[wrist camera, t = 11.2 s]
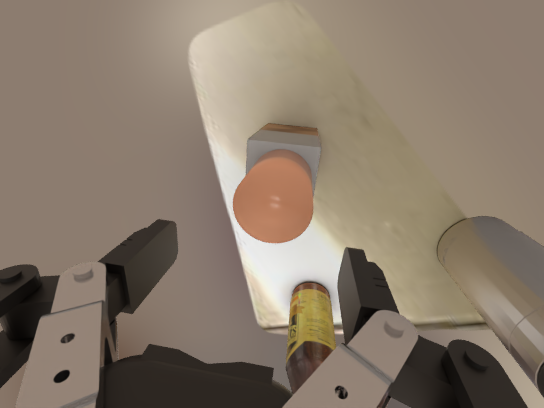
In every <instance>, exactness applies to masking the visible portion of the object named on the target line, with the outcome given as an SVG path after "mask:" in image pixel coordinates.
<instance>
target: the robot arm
mask: <svg viewBox="0 0 544 408" xmlns="http://www.w3.org/2000/svg"><path fill="white" fill-rule="evenodd" d="M177 254H178V243H177V228H176V223H175V222H173V221H167V220H160V219H158V220H156V221H155V222H154V223H153V224H151V225H150V226H149V227H148V228H144V229H141V230H139V231H137V232H134V233H133V234H132V235H131V236H129V237H128V238H127V240H125V241H123V242H122V243H121V244H120V245H118V246H117V247H116V248H114V249H113V250H112V251H111V252H109V253H108V254H107V255H105V256H104V257H103V258H102V259H101V260H99V261H98V262H85V263H81V264H77V265H75V266H72V267H71V268H69V269H67V270H66V271H64V272H63V273H62V274H61V275H60V276H44V277H40V275H39V272H38V269H37V267H36V266H33V265H17V266H12V267H9V268H6V269H3V270H0V323H1V326H2V328H3V331H1V332H0V388H1V387H2V386H3V385H4V384H5V383H6V382H7V381H8V380H9V379H10V378H11V377H12V376H13V375H14V374H15V373H16V372H17V371H18V370H19V369H20V368H21V367H22V366H23V365H24V363H26V362H27V361H28V363H27V367H26V370H25V373H24V377H23V381H22V385H21V388H20V391H19V395H18V399H17V402H16V406H15V408H386V407H387V405H388V403H389V401H390V400H391V398H394V399H396V400H398V401H400V402H402V403H404V404H405V405H407V406H409V407H411V408H528V407H527V405H526V404H525V402H524V401H523V399H522V398H521V396H520V394H519V393H518V391H517V390H516V388H515V387H514V385H513V383H512V382H511V380H510V379H509V377H508V375H507V374H506V373H505V371H504V369H503V368H502V366H501V365H500V363H499V362H498V361H497V360H496V359H495V358H494V357H493V356H492V355H491V354H490V353H489V352H487V351H486V350H484V349H483V348H481V347H480V346H478V345H476V344H474V343H471V342H469V341H465V340H453V341H451V342H450V343H449V345H448V347H447V348H446V347H444V346H442V345H439V344H437V343H434V342H432V341H429V340H427V339H424V338H423V337H421V336H419V335H418V333H417V330H416V328H415V327H414V325H413V324H412V323H411V322H410V321H409V320H408V319H406V318H405V317H404V316H402V315H400V314H399V311H398V309H397V306H396V304H395V301H394V299H393V296H392V294H391V291H390V289H389V286H388V284H387V281H386V279H385V276H384V274H383V271H382V270H381V269H380V268H379V267H378V266H377V265H376V264H375V263H373V262H367V259H366V256H365V253H364V250H362V249H355V248H348V247H346V248H345V250H344V254H343V259H342V263H341V267H340V271H339V276H338V295H339V302H340V310H341V317H342V325H343V332H344V339H345V344H344V343H341V344H339V345H338V346H337V347H336V348H335V349H334V351H333V352H332V353H331V354H330V355H329V356H328V357H327V358H326V359H325V361H324V362H323V363H322V364H321V365H320V366H319V367H318V368H317V369H316V371H315V372H314V373H313V374H312V375H311V376H310V377H309V378H308V379H307V380H306V382H305V383H304V384H303V385H302V386H301V387H300V388H299V389H298V390H297V392H296V393H295V394H293V393H292V392H290V391H289V390H288V389H287V388H286V387H285V386H283V385H282V384H280V383H279V382H277V381H275V380H273V379H272V377H273V370H274V368H271V367H265V366H260V365H255V364H250V363H245V362H235V363H216V364H207V363H204V362H202V361H200V360H198V359H196V358H194V357H192V356H190V355H188V354H186V353H184V352H182V351H180V350H178V349H173V348H168V347H162V346H157V345H152V344H149V345H148V347H147V348H146V350H145V351H144V353H143V354H142V355H136V356H130V357H127V358H123V359H120V360H118V332H117V319H116V316H117V315H118V314H119V313H120V312H124V313H129V314H133V313H134V311H135V310H136V309H137V308H138V306H139V305H140V304H141V303H142V301H143V300H144V299H145V298H146V296H147V295H148V294H149V293H150V292H151V290H152V289H153V288H154V287H155V285H156V284H157V283H158V282H159V280H160V279H161V278H162V276H163V275H164V274H165V273H166V272H167V270H168V269H169V268H170V267H171V266H172V264H173V263H174V261H175V260H176V257H177ZM437 254H438V258H439V261H440V262H441V264H442V265H443V267H444V268H445V269H446V270H447V272H448V273H449V274H450V276H451V277H452V278H453V280H454V281H455V282H456V284H457V285H458V286H459V288H460V289H461V290H462V292H463V293H464V294H465V295H466V297H467V298H468V299H469V301H470V302H471V303H472V305H473V306H474V307H475V309H476V310H477V311H478V312H479V314H480V315H481V316H482V318H483V319H484V320H485V322H486V323H487V324H488V325H489V327H490V328H491V329H492V331H493V332H494V333H495V335H496V336H497V337H498V338H499V340H500V341H501V342H502V344H503V345H504V346H505V348H506V349H507V350H508V352H509V353H510V354H511V355H512V357H513V358H514V359H515V360H516V362H517V363H518V364H519V366H520V367H521V368H522V370H523V371H524V372H525V374H526V375H527V376H528V377H529V379H530V380H531V381H532V383H533V384H534V385H535V386H536V388H537V389H538V390H539V392H540V393H541V395H542V396H543V397H544V246H542V245H540V244H539V243H537V242H536V241H534V240H533V239H531V238H530V237H528V236H527V235H525V234H524V233H522V232H520V231H518V230H516V229H515V228H513V227H512V226H510V225H509V224H507V223H505V222H504V221H502V220H500V219H498V218H495V217H488V216H478V217H473V218H468V219H466V220H463V221H461V222H459V223H457V224H455V225H453V226H452V227H451V228H450V229H449V230H447V231H446V233H445V234H444V235H443V236H442V238H441V240H440V242H439V245H438V248H437Z"/></svg>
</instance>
